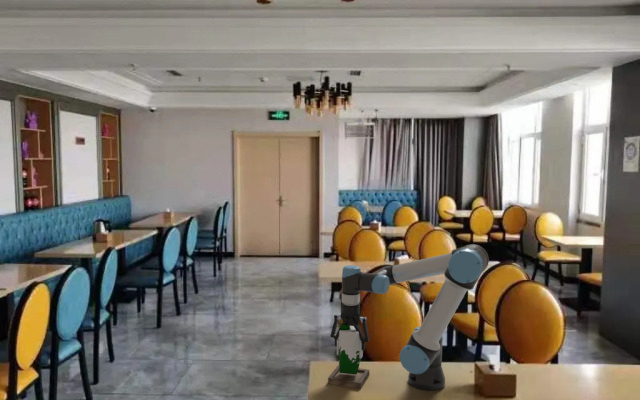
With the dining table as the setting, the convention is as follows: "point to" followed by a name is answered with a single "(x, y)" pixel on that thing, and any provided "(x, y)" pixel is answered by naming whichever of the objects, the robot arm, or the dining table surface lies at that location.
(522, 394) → the dining table surface
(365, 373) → the walnut tray
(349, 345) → the soya milk
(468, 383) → the dining table surface
